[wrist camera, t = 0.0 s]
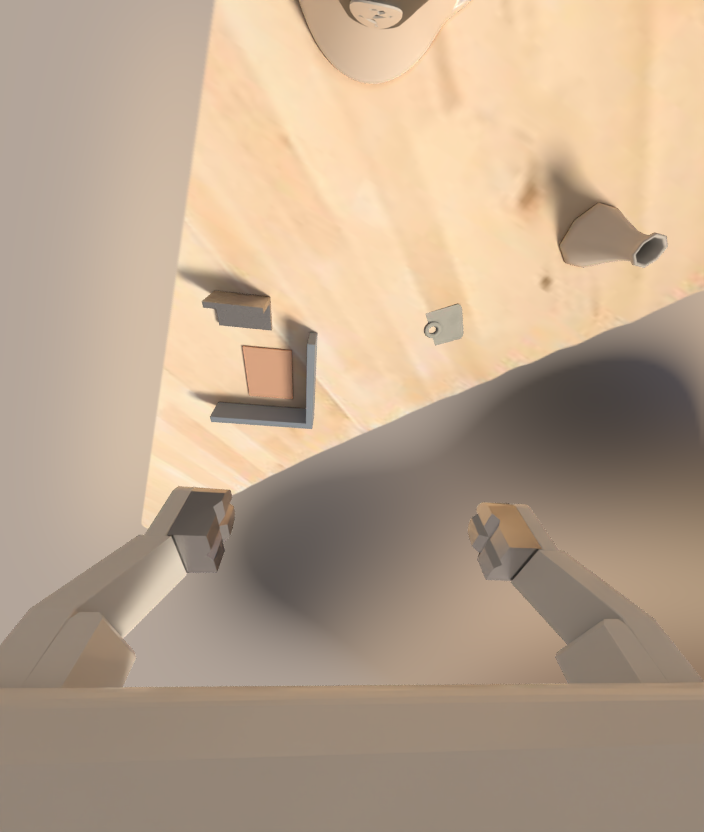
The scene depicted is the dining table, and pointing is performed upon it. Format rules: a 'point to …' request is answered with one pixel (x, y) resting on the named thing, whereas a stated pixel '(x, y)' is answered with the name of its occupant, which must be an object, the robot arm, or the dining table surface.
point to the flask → (609, 240)
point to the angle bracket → (241, 309)
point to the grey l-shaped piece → (273, 413)
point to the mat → (269, 372)
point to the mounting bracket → (445, 324)
